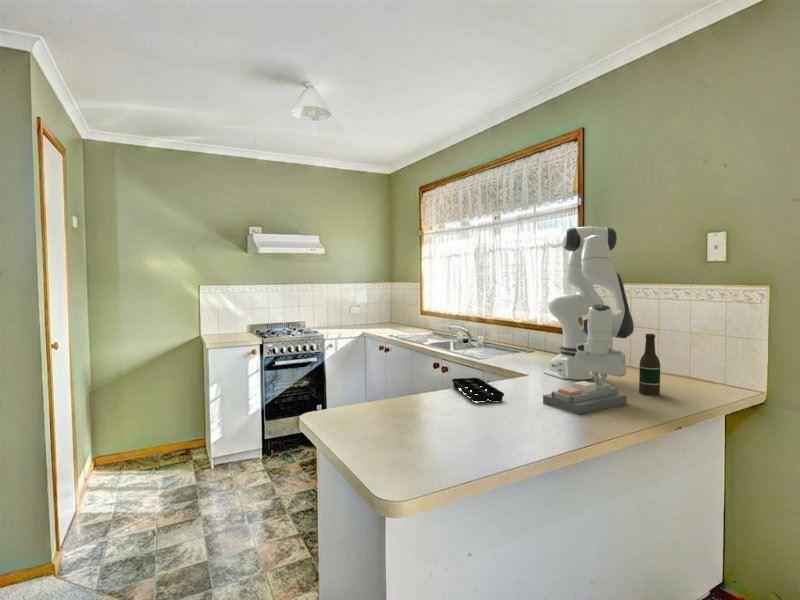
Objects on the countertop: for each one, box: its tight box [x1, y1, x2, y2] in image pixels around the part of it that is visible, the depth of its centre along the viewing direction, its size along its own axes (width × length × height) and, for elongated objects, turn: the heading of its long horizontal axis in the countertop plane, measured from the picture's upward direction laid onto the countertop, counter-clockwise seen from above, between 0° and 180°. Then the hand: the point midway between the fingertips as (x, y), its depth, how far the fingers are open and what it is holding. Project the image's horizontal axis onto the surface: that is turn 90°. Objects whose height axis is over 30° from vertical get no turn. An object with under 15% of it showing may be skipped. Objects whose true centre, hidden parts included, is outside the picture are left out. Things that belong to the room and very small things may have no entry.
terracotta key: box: [557, 386, 581, 396], centre depth 164 cm, size 6×6×3 cm
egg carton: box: [451, 377, 505, 402], centre depth 184 cm, size 18×30×4 cm, turn 23°
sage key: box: [592, 381, 611, 390], centre depth 171 cm, size 6×6×3 cm
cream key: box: [572, 380, 596, 393], centre depth 168 cm, size 6×6×3 cm
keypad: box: [542, 386, 628, 415], centre depth 168 cm, size 16×26×5 cm, turn 118°
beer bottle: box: [638, 333, 661, 397], centre depth 179 cm, size 8×8×24 cm
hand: (599, 384), depth 171 cm, fingers closed, pressing on sage key
